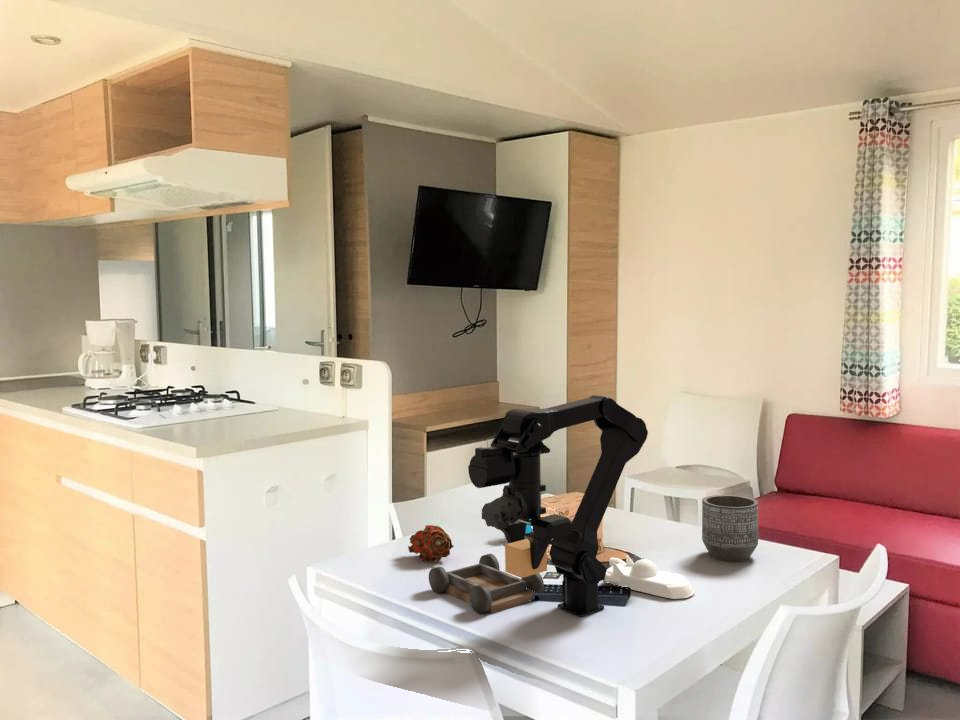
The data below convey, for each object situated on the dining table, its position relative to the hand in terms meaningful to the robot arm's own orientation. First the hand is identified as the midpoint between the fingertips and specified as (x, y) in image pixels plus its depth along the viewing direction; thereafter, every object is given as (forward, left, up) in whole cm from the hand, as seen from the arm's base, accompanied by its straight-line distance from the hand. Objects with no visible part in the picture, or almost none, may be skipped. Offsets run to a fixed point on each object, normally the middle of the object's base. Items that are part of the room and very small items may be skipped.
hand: (526, 565), depth 145 cm
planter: (0, -61, -11) cm, 62 cm away
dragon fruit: (+43, -8, -11) cm, 45 cm away
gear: (+42, -35, -11) cm, 56 cm away
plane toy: (-1, -31, -12) cm, 33 cm away
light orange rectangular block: (0, 0, -1) cm, 1 cm away
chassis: (+17, -4, -11) cm, 21 cm away
